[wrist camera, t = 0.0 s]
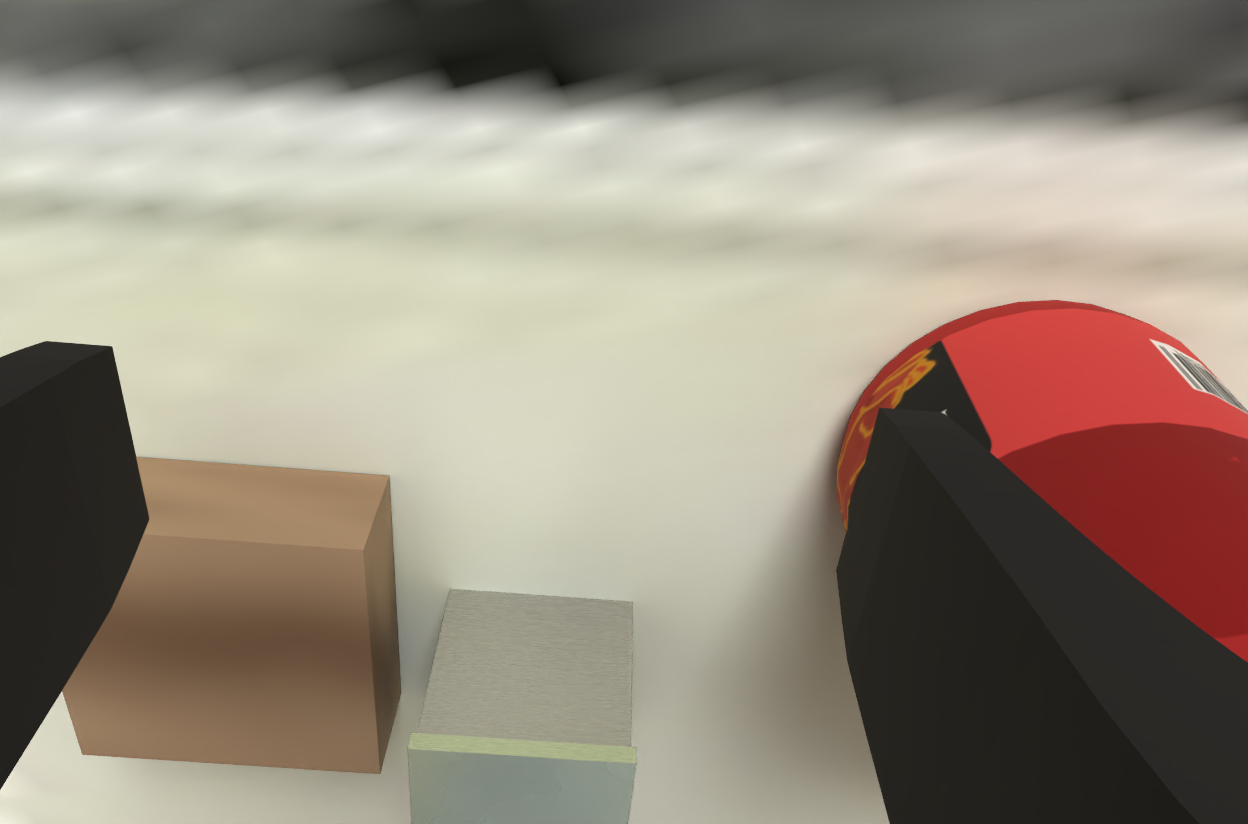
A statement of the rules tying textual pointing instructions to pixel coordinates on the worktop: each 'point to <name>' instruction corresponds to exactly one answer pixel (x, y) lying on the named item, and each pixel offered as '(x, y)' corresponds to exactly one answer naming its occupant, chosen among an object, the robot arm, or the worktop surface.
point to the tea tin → (526, 713)
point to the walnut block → (249, 624)
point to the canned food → (1094, 440)
